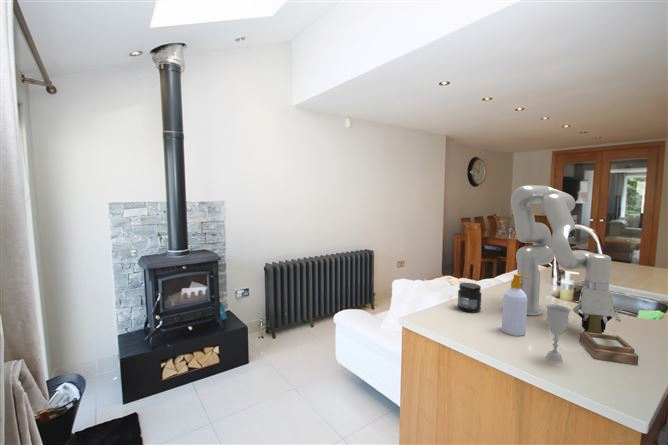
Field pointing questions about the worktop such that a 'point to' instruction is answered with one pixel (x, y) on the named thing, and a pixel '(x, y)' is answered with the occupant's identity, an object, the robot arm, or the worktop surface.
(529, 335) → the worktop surface
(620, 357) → the brown wooden flat frame
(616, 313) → the soupspoon
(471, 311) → the supplement container
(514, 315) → the soap bottle
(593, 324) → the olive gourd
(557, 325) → the chalice
